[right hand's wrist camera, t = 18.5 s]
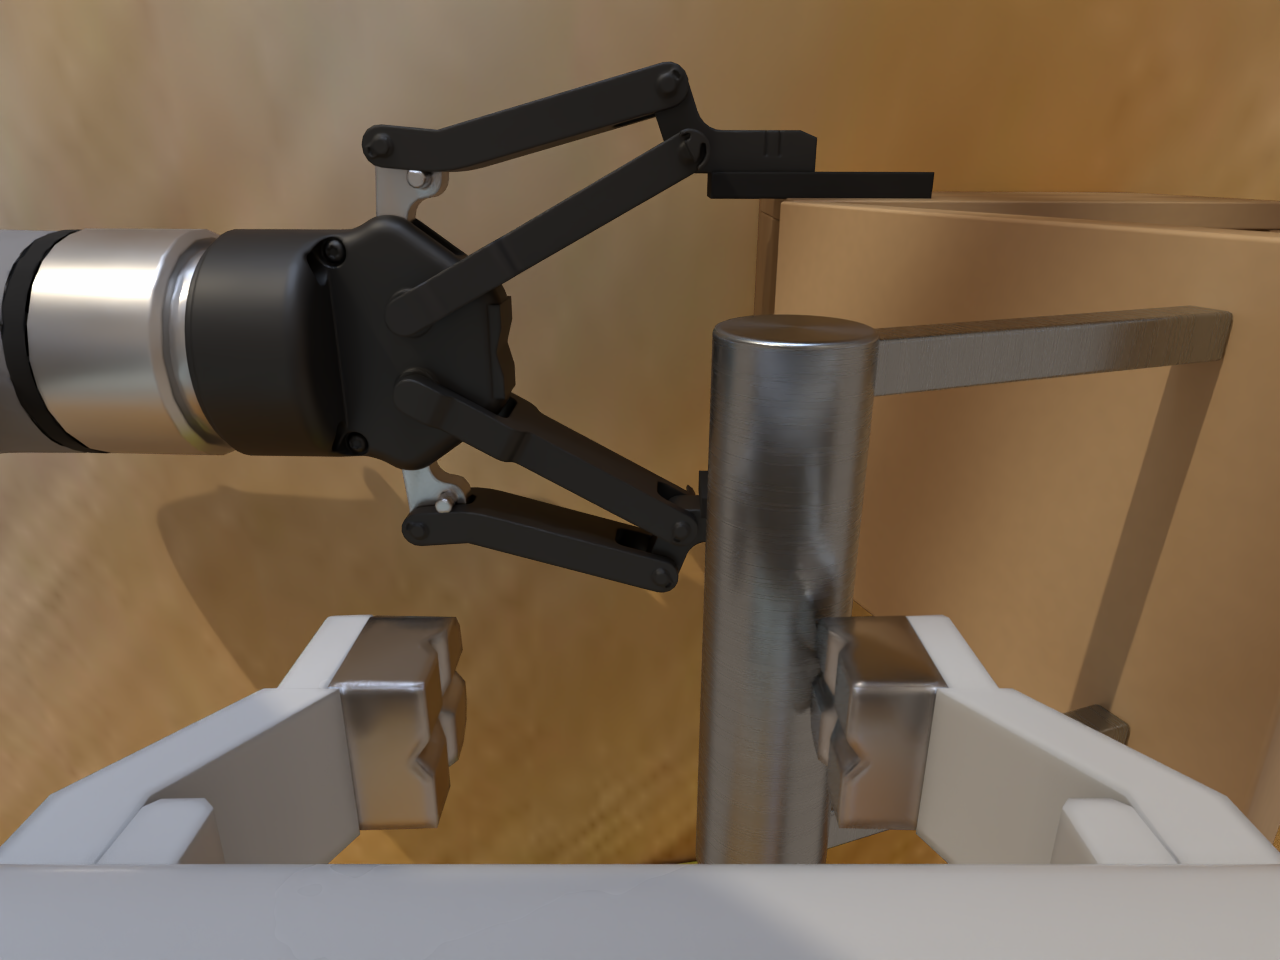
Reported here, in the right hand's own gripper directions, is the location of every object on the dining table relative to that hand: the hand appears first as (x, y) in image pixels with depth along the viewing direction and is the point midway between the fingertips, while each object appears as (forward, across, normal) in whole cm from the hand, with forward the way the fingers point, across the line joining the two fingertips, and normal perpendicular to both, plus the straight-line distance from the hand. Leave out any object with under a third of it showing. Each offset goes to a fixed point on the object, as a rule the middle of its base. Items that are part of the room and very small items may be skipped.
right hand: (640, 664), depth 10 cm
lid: (+8, -7, 0) cm, 11 cm away
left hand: (+19, -9, 0) cm, 20 cm away
